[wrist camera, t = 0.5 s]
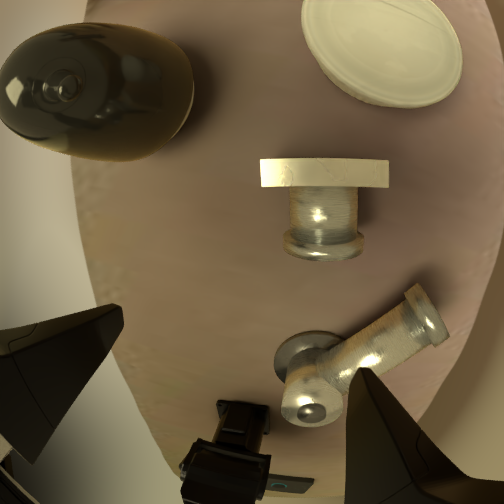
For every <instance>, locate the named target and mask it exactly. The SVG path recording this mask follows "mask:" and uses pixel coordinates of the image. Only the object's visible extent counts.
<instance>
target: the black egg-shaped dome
mask: <svg viewBox="0 0 504 504" xmlns="http://www.w3.org/2000/svg"><path fill="white" fill-rule="evenodd" d="M193 99H194V80H193V71H192V67H191V64H190V61H189V59H188V57H187V56H186V54H185V53H184V51H183V50H182V49H181V48H180V47H179V46H178V45H176V44H175V43H174V42H172V41H171V40H169V39H167V38H165V37H163V36H161V35H159V34H156V33H153V32H150V31H147V30H144V29H140V28H137V27H132V26H127V25H121V24H112V23H94V22H89V23H75V24H68V25H63V26H58V27H55V28H51V29H49V30H46V31H43V32H41V33H39V34H36V35H34V36H32V37H30V38H29V39H27V40H25V41H24V42H23V43H21V44H20V45H19V46H18V47H17V48H16V49H15V50H14V51H13V52H12V53H11V54H10V56H9V57H8V58H7V60H6V61H5V63H4V64H3V66H2V68H1V70H0V119H1V120H2V122H3V123H4V124H5V125H6V126H7V127H8V128H9V129H10V130H11V131H13V132H14V133H15V134H17V135H18V136H20V137H21V138H23V139H25V140H27V141H29V142H31V143H33V144H35V145H37V146H40V147H43V148H46V149H49V150H52V151H56V152H59V153H63V154H67V155H70V156H74V157H79V158H84V159H90V160H97V161H106V162H130V161H136V160H139V159H142V158H145V157H147V156H149V155H151V154H153V153H154V152H156V151H157V150H159V149H160V148H161V147H163V146H164V145H165V144H166V143H167V142H168V141H169V140H170V139H171V138H172V137H173V136H174V135H175V134H176V133H177V132H178V131H179V130H180V128H181V127H182V126H183V124H184V122H185V121H186V119H187V117H188V115H189V113H190V110H191V107H192V103H193Z"/></svg>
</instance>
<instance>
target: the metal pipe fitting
mask: <svg viewBox="0 0 504 504" xmlns="http://www.w3.org/2000/svg"><path fill="white" fill-rule="evenodd" d="M260 166H261V184H262V187H275V186H289V194H290V226H291V229H290V230H288V231H286V232H285V233H284V234H283V248H284V250H285V251H286V252H287V253H288V254H290V255H292V256H295V257H298V258H301V259H306V260H313V261H340V260H347V259H351V258H354V257H356V256H358V255H360V254H361V253H362V252H363V246H364V236H363V234H362V233H360V232H358V231H357V214H358V187H381V188H389V161H388V160H372V159H348V158H286V159H261V160H260ZM343 341H345V340H344V339H342V338H341V337H339V336H337V335H335V334H332V333H329V332H324V331H309V332H303V333H299V334H297V335H294V336H292V337H290V338H289V339H287V340H286V341H284V342H283V343H282V344H281V345H280V347H279V348H278V350H277V352H276V354H275V359H274V369H275V372H276V374H277V376H278V377H279V379H280V380H281V381H282V382H284V383H285V380H286V374H287V367H288V363H289V361H290V359H291V358H292V357H293V356H294V355H295V354H297V353H299V352H301V351H303V350H307V349H323V350H327V351H328V350H330V349H332V348H334V347H335V346H337V345H339V344H340V343H342V342H343Z"/></svg>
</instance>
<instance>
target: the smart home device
mask: <svg viewBox="0 0 504 504" xmlns="http://www.w3.org/2000/svg"><path fill="white" fill-rule="evenodd" d="M313 482H314V479H312V478H303V477H292V476H283V475H276V474H268V480H267V485H266V489H265V490H271V491H279V492H288V493H299V494H302V493H305V492H306V491H307V490H308V489H309V488H310V487H311V486H312V485H313Z"/></svg>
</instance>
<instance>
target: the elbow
mask: <svg viewBox="0 0 504 504" xmlns="http://www.w3.org/2000/svg"><path fill="white" fill-rule="evenodd" d="M404 296H405V297H406V299H405V300H404V301H403V302H401V303H400V304H399V305H397V306H396V307H395V308H393V309H392V310H390V311H389V312H388V313H386V314H385V315H383V316H382V317H380V318H379V319H377V320H376V321H375V322H373V323H372V324H370V325H369V326H367V327H366V328H364V329H362V330H361V331H359V332H358V333H356V334H355V335H353V336H352V337H350V338H348V339H347V340H345V341H343V342H342V343H340V344H339V345H337V346H335V347H334V348H332V349H330V350H328V351H327V350H323V349H307V350H303V351H301V352H299V353H297V354H295V355H294V356H293V357H292V358H291V359H290V361H289V363H288V367H287V374H286V380H285V387H284V393H283V400H282V406H281V414H282V416H283V417H284V418H285V419H286V420H287V421H289V422H290V423H292V424H295V425H298V426H303V427H319V426H323V425H327V424H329V423H332V422H333V421H335V420H336V419H338V418H339V417H340V415H341V414H342V411H343V398H342V396H344V395H346V394H348V393H349V385H350V382H351V380H352V378H353V376H354V375H355V373H356V371H357V369H358V368H359V367H368V368H370V369H371V370H372V371H373V372H374V373H375V374H376V375H377V377H380V376H381V375H383V374H385V373H387V372H388V371H390V370H392V369H393V368H395V367H397V366H398V365H400V364H402V363H403V362H405V361H406V360H408V359H409V358H411V357H412V356H414V355H415V354H417V353H418V352H420V351H421V350H423V349H424V348H426V347H427V346H429V345H430V344H431V343H432V344H433V346H434V347H435V348H436V347H437V346H438V345H440V344H441V343H442V342H444V341H445V340H447V339H448V338H449V337H450V335H449V333H448V330H447V328H446V326H445V324H444V322H443V321H442V319H441V317H440V315H439V313H438V312H437V310H436V308H435V307H434V305H433V303H432V302H431V300H430V299H429V297H428V295H427V294H426V292H425V291H424V290H423V288H422V287H421V286H420V284H419V283H417V284H415V285H414V286H413V287H411V288H410V289H409V290H408V291H406V292H405V293H404Z"/></svg>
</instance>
